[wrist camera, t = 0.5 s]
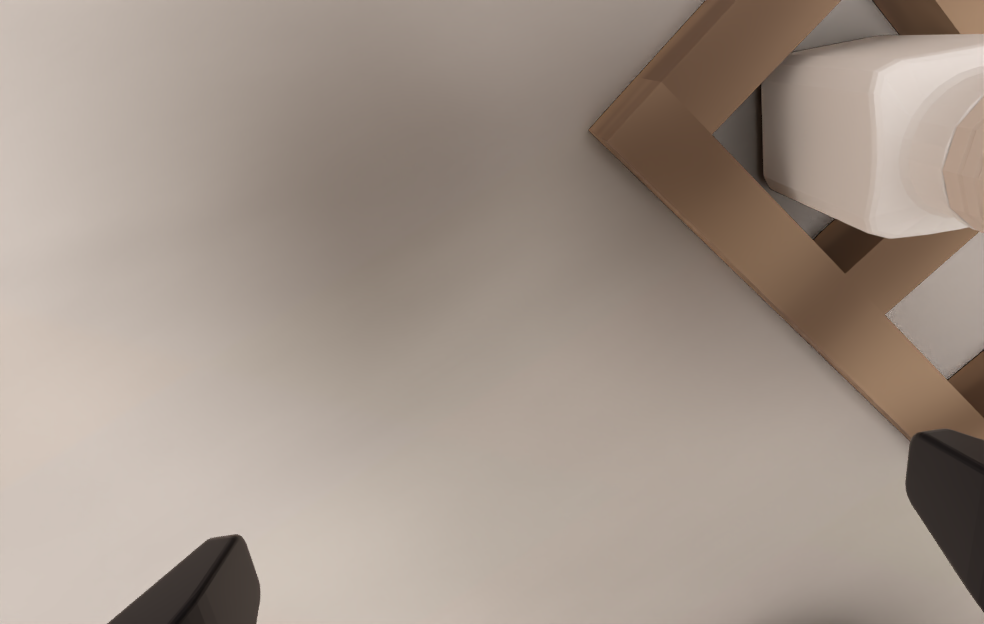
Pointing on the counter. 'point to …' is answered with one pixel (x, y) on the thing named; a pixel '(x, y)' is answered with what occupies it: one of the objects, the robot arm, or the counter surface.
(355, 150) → the counter surface
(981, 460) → the robot arm
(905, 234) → the pepper shaker
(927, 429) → the wooden compartment tray
